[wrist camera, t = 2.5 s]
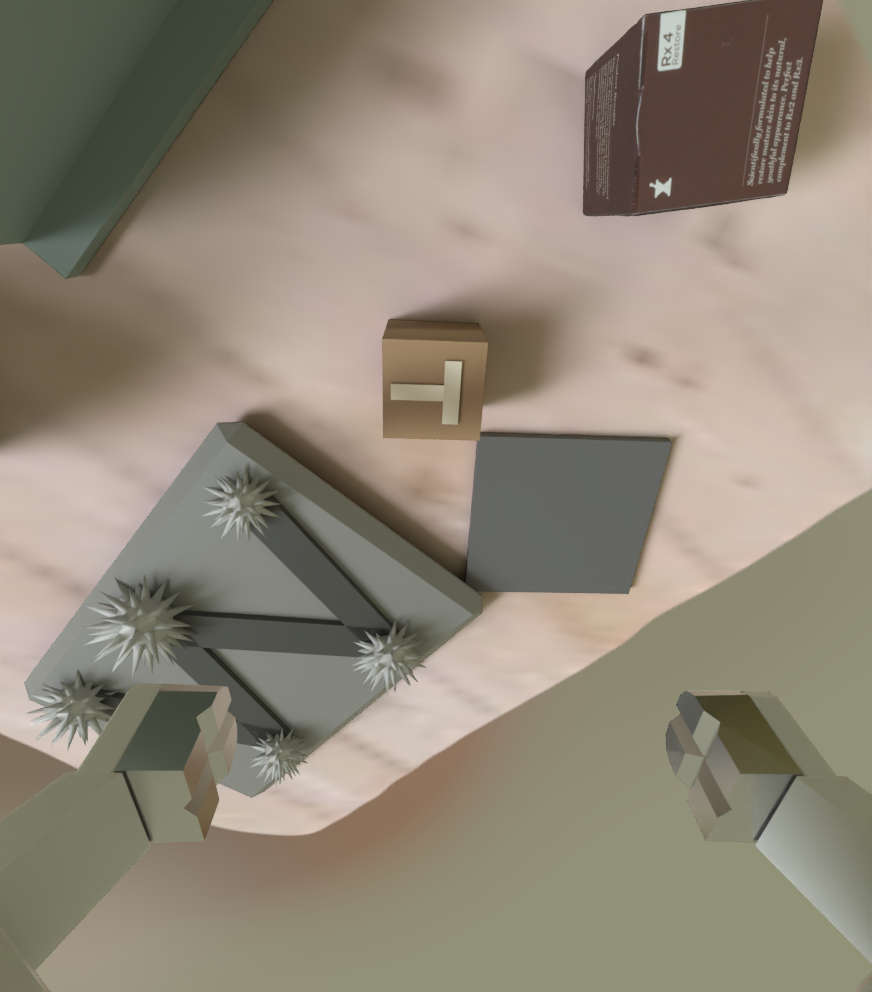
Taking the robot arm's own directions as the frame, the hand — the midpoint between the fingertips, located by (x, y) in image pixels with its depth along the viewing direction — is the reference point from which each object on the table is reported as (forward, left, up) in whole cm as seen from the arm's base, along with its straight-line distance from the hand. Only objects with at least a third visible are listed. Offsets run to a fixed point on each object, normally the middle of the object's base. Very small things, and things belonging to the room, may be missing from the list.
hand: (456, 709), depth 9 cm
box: (-11, +10, -24) cm, 28 cm away
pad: (+10, +9, -23) cm, 27 cm away
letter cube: (0, 0, -23) cm, 23 cm away
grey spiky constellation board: (+21, -13, -23) cm, 34 cm away
